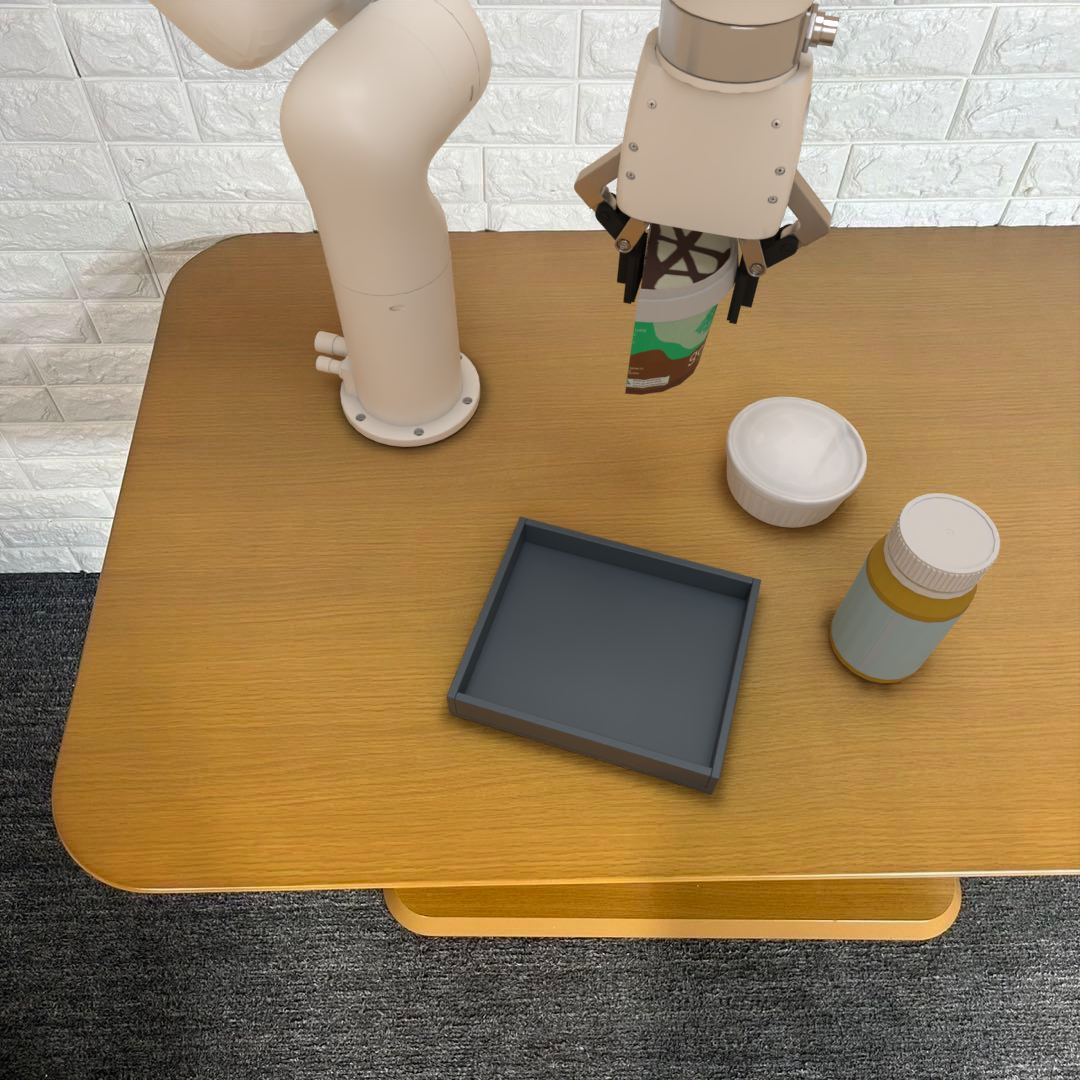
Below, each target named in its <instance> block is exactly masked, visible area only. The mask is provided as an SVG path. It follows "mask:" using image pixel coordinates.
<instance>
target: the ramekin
mask: <svg viewBox="0 0 1080 1080" xmlns="http://www.w3.org/2000/svg"><path fill="white" fill-rule="evenodd" d="M725 453H726V481H727V486H728V488H729V490H730V491H729V492H730V493H731V494H732V497H733V498H734V500H735V502H736V503H737V504H738V505H739V506H740V507H741V508H742V509H743V510H744V511H745V512H747V513H748V514H749V515H751V516H752V517H753V518H755V519H757V520H759V521H761V522H763V523H766V524H768V525H771V526H774V527H775V526H776V527H780V528H791V529H793V528H803V527H804V528H805V527H809V526H813V525H816V524H817V523H820V522H822V521H824V520H825V519H827V518H829V516H830V515H832V514H833V513H834V512H835V511H836V510H837V509H838V508H839V507H840V505H841V504H842V503H843V502H844V501H846V500H847V499H848V498H849V497H850V496H852V495H853V494H854V493H855V491H857V489H858V488H859V487H860V485H861V483H862V481H863V479H864V477H865V475H866V471H867V465H868V455H867V451H866V446H865V443H864V441H863V439H862V437H861V435H860V433H859V432H858V430H857V429H856V427H854V426H853V425H852V423H851V422H850V421H849V420H848V419H847V418H846V417H844V416H843V415H842V414H840V413H839V412H838V411H836V410H834V409H832V408H831V407H829V406H827V405H825V404H824V403H823V404H822V403H820V402H818V401H814V400H812V399H807V398H803V397H797V396H774V397H768V398H763V399H759V400H757V401H755V402H752V403H750V404H747V405H746V406H745V407H744V408H743V409H741V410H740V411H739V412H738V413H737V414H736V415H735V416H734V418H733V419H732V421H731V422H730V424H729V426H728V429H727V433H726V439H725Z"/></svg>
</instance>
